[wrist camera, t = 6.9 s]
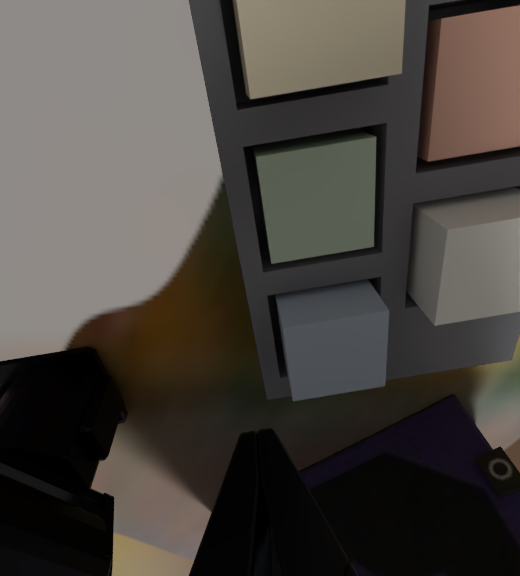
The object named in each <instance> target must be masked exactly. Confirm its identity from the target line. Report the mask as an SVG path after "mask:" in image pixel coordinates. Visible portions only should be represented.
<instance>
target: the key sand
mask: <svg viewBox="0 0 520 576" xmlns="http://www.w3.org/2000/svg"><path fill="white" fill-rule="evenodd" d="M232 4H233V11H234V18H235V25H236V32H237V38H238V45H239V52H240V59H241V66H242V73H243V79H244V86H245V93H246V95H247V96H248V97H249V98H250V99H255V98H261V97H267V96H273V95H279V94H285V93H291V92H297V91H302V90H308V89H314V88H320V87H326V86H332V85H338V84H344V83H350V82H356V81H361V80H367V79H373V78H379V77H385V76H391V75H397V74H402V60H403V41H404V22H405V4H406V0H232Z"/></svg>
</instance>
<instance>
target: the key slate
mask: <svg viewBox="0 0 520 576" xmlns="http://www.w3.org/2000/svg"><path fill="white" fill-rule="evenodd" d="M275 298H276V305H277V312H278V319H279V326H280V333H281V339H282V346H283V353H284V359H285V364H286V369H287V374H288V379H289V384H290V389H291V394H292V399H293V401H299V400H305V399H311V398H317V397H323V396H329V395H335V394H341V393H347V392H354V391H360V390H366V389H372V388H378V387H384V386H385V382H386V363H387V344H388V325H389V310H388V308H387V307H386V305H385V304H384V302H383V301H382V299H381V298H380V296H379V295H378V293H377V292H376V290H375V289H374V287H373V286H372V284H371V283H370V282H369V280H368V279H364V280H358V281H352V282H346V283H340V284H334V285H328V286H322V287H316V288H310V289H304V290H298V291H292V292H286V293H280V294H275Z"/></svg>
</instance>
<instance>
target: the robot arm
mask: <svg viewBox="0 0 520 576" xmlns="http://www.w3.org/2000/svg"><path fill="white" fill-rule="evenodd" d="M86 355H89V356H90V357H88V356H86ZM127 415H128V414H127V411H126V409H125V407H124V401H123V399H122V397H121V395H120V393H119V391H118V389H117V387H116V385H115V383H114V381H113V379H112V377H111V376H109V375H108V373H107V371H106V369H105V367H104V365H103V363H102V361H101V359H100V357H99V355H98V353H97V352H96V350H94V349H93V348H90V347H84V348H78V349H72V350H66V351H60V352H55V353H49V354H43V355H36V356H30V357H25V358H18V359H12V360H7V361H0V576H111V575H112V561H113V560H112V558H113V522H114V497H113V496H111V495H109V494H106V493H104V494H102V493H100V492H97V491H95V490H93V489H91V486H92V482H93V479H94V476H95V473H96V470H97V467H98V464H99V461H103V460H105V459H106V458H107V457H108V455H109V452H110V448H111V445H112V442H113V438H114V435H115V432H116V429H117V425H118V424H120V423H124V422H125V421H126V419H127ZM271 528H272V532H273V536H274V541H275V545H276V549H277V554H278V558H279V562H280V566H281V571H282V575H283V576H358V574H357V572H356V571H355V569H354V567H353V566H352V564H351V563H349V559H348V557H347V555H346V554H345V552H344V550H343V548H342V547H341V545H340V543H339V541H338V540H337V538H336V536H335V534H334V533H333V531H332V529H331V527H330V526H329V524H328V522H327V521H326V519H325V517H324V515H323V514H322V512H321V510H320V508H319V507H318V505H317V503H316V501H315V500H314V498H313V496H312V494H311V493H310V491H309V489H308V487H307V486H306V484H305V482H304V480H303V479H302V477H301V475H300V473H299V472H298V470H297V468H296V466H295V465H294V463H293V461H292V459H291V458H290V456H289V454H288V453H287V451H286V449H285V447H284V446H283V444H282V442H281V440H280V439H279V437H278V435H277V433H276V432H275V430H274V429H273V428H267V429H261V430H259V431H258V432H256V431H249V432H243V433H241V434H240V436H239V439H238V441H237V444H236V447H235V450H234V452H233V455H232V458H231V461H230V463H229V466H228V469H227V472H226V474H225V477H224V480H223V483H222V486H221V488H220V491H219V494H218V497H217V499H216V502H215V505H214V508H213V510H212V513H211V516H210V519H209V521H208V524H207V527H206V530H205V532H204V535H203V538H202V541H201V543H200V546H199V549H198V552H197V554H196V557H195V560H194V563H193V566H192V568H191V571H190V574H189V576H272V545H271Z"/></svg>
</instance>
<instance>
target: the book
mask: <svg viewBox="0 0 520 576" xmlns="http://www.w3.org/2000/svg"><path fill="white" fill-rule="evenodd" d="M299 473H300V475H301V477H302V479H303V480H304V482H305V484H306V486H307V487H308V489H309V491H310V493H311V494H312V496H313V498H314V500H315V501H316V503H317V505H318V507H319V508H320V510H321V512H322V514H323V515H324V517H325V519H326V521H327V522H328V524H329V526H330V527H331V529H332V531H333V533H334V534H335V536H336V538H337V540H338V541H339V543H340V545H341V547H342V548H343V550H344V552H345V554H346V555H347V557H348V559H349V563H351V564H352V566H353V567H354V569H355V571H356V572H357V574H358V576H520V473H519V471H518V470H517V468H516V467H515V466H514V464H513V463H512V462H511V461H510V459H509V457H508V456H507V455H506V453H505V452H504V451H503V449H502V448H501V447H498V448H496V449H494V450H493V449H492V448H491V446H490V445H489V443H488V442H487V440H486V439H485V438H484V436H483V435H482V433H481V432H480V431H479V429H478V428H477V426H476V425H475V423H474V422H473V421H472V419H471V418H470V416H469V415H468V413H467V412H466V411H465V409H464V408H463V406H462V405H461V404H460V402H459V401H458V399H457V398H456V396H455V395H452V396H450V397H448V398H446V399H444V400H442V401H440V402H438V403H436V404H434V405H432V406H430V407H428V408H426V409H424V410H422V411H420V412H418V413H416V414H414V415H412V416H410V417H408V418H406V419H404V420H402V421H400V422H398V423H396V424H394V425H392V426H390V427H388V428H386V429H384V430H382V431H380V432H379V433H377V434H375V435H373V436H371V437H369V438H367V439H365V440H363V441H361V442H359V443H357V444H355V445H353V446H351V447H349V448H347V449H345V450H343V451H341V452H339V453H337V454H335V455H333V456H331V457H329V458H327V459H325V460H323V461H321V462H319V463H317V464H315V465H313V466H311V467H309V468H307V469H305V470H303V471H301V472H299ZM271 545H272V576H283V575H282V571H281V566H280V562H279V558H278V554H277V549H276V545H275V541H274V536H273V532H272V528H271Z"/></svg>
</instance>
